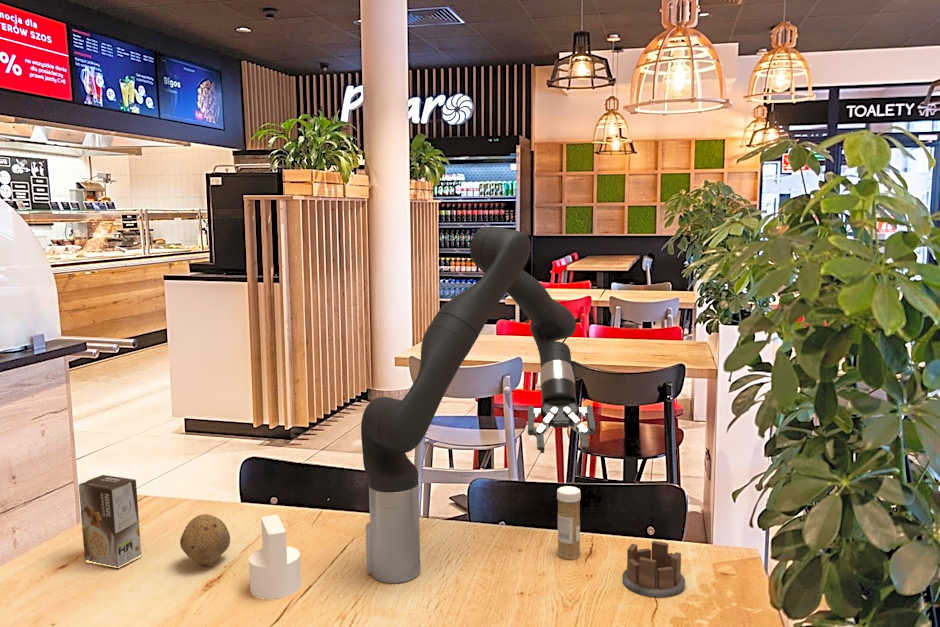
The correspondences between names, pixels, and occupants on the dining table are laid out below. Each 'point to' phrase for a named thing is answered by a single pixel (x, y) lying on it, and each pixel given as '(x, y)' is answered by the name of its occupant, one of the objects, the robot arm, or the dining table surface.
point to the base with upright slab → (274, 563)
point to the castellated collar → (654, 571)
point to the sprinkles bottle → (568, 522)
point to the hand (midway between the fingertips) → (563, 451)
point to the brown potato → (205, 539)
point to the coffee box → (110, 520)
